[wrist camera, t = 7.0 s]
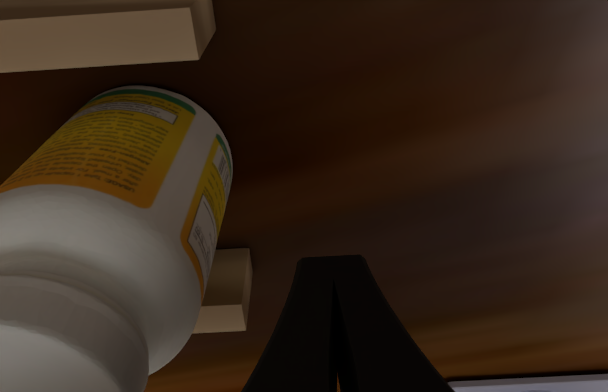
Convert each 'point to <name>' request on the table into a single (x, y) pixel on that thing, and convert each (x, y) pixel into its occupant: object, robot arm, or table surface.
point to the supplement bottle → (110, 243)
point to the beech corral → (120, 51)
